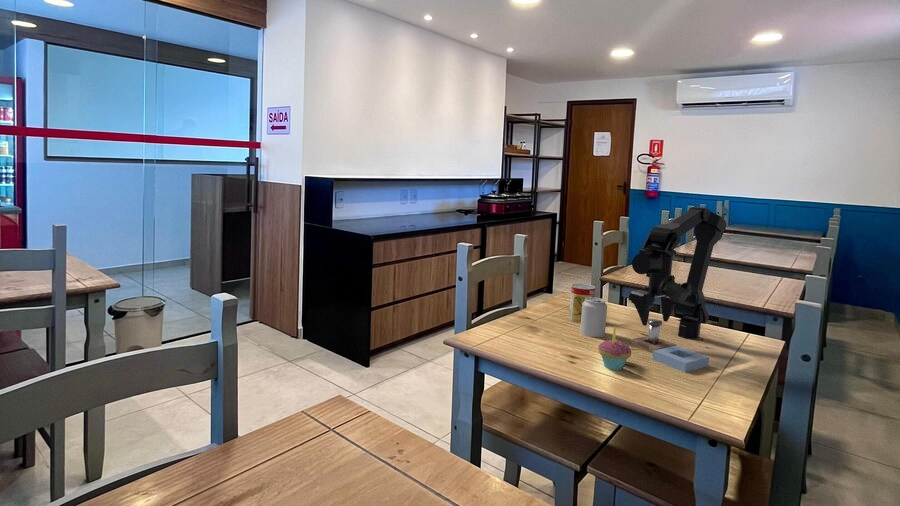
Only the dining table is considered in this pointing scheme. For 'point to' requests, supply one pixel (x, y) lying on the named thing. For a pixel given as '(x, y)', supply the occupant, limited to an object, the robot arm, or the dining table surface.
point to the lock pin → (654, 331)
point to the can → (593, 317)
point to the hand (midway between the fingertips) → (655, 323)
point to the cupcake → (614, 353)
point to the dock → (680, 358)
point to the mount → (649, 347)
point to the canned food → (579, 299)
